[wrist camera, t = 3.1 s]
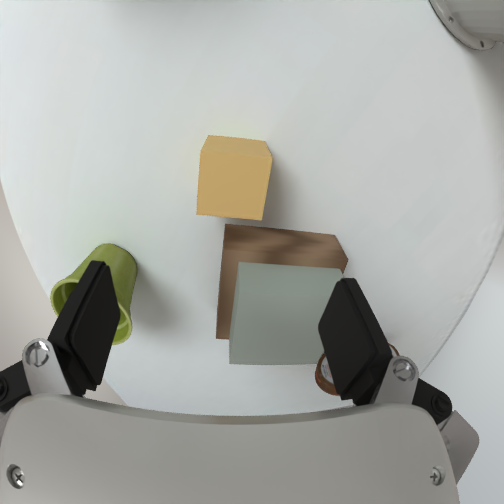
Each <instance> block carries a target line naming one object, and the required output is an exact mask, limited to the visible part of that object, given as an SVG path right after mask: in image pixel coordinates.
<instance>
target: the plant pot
mask: <svg viewBox="0 0 504 504" xmlns="http://www.w3.org/2000/svg"><path fill="white" fill-rule="evenodd" d="M92 260H96V261H104V262H105V263H106V265H109V267H110V270H111V275H112V280H113V284H114V289H115V293H116V297H117V301H118V305H119V309H120V321H119V324H118V327H117V330H116V333H115V336H114V340H113V343H112V345H116V344H120V343H123V342H124V341H126V340H127V339H128V338H129V337H130V335H131V332H132V321H131V318H130V317H131V314H130V304H131V299H132V293H133V288H134V284H135V279H136V274H137V267H136V263H135V261H134V259H133V257H132V256H131V255H130V254H129V253H128V252H127V251H126V250H124V249H121V248H119V247H117V246H115V245H114V244H102V245H100V246H98V247H97V248H96V249H95V250H94V251H93V252H92V253H91V254H90V255H89V256H88V257H87V258H86V259H85V260H84V261H83V262H82V264H81V265H80V266H79V267H78V268H77V269H76V270H75V271H74V272H73V273H72V274H71V275H69V276H68V277H66V278H65V279H63V280H61V281H59V282H58V283H56V284H55V286H54V287H53V288H52V291H51V296H50V300H51V305H52V307H53V310H54V312H55V314H56V315H57V317H58V316H59V314H60V312H61V310H62V308H63V306H64V304H65V302H66V301H67V299H68V297H69V295H70V293H71V292H72V291H73V290H74V289H75V287H76V285H77V284H78V282H79V280H80V278H81V277H82V275H83V273H84V271H85V270H86V268H87V266H88V265H89V263H90V262H91V261H92Z"/></svg>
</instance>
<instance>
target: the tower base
mask: <svg viewBox="0 0 504 504" xmlns="http://www.w3.org/2000/svg"><path fill="white" fill-rule="evenodd" d="M239 262H248V263H262V264H276V265H291V266H306V267H321V268H337V269H340V270H341V272H342V274H343V272H344V270H345V267H346V265H347V262H348V258H347V256H346V254H345V253H344V251H343V249H342V247H341V245H340V243H339V242H338V240H337V238H336V236H335V235H330V234H321V233H313V232H303V231H294V230H284V229H275V228H265V227H254V226H244V225H233V224H225V231H224V241H223V251H222V262H221V272H220V284H219V295H218V307H217V327H216V339H229V335H230V326H231V318H232V310H233V302H234V294H235V286H236V279H237V271H238V263H239Z"/></svg>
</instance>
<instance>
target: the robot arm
mask: <svg viewBox="0 0 504 504" xmlns="http://www.w3.org/2000/svg"><path fill="white" fill-rule="evenodd" d="M430 2H431V4H432V6H433V8H434V9H435V11H436V13H437V14H438V16H439V17H440V19H441V20H442V22H443V23H444V24H445V26H446V27H447V28H448V29H449V30H450V32H451V33H452V34H453V35H454V36H455V37H456V38H458V39H459V40H460V41H461V42H462V43H464V44H465V45H467V46H468V47H471V48H473V49H478V50H488V49H491V48H492V47H493V46H494V45H495V44H496V42H497V41H500V42H503V43H504V0H430ZM119 321H120V309H119V305H118V301H117V297H116V293H115V289H114V284H113V280H112V275H111V270H110V267H109V265H106V263H105V262H104V261H96V260H92V261H91V262H90V263H89V265H88V266H87V268H86V270H85V271H84V273H83V275H82V277H81V278H80V280H79V282H78V284H77V285H76V287H75V289H74V290H73V291H72V292H71V293H70V295H69V297H68V299H67V301H66V302H65V304H64V306H63V308H62V310H61V312H60V314H59V316H58V318H57V320H56V322H55V324H54V326H53V328H52V330H51V333H50V335H49V337H48V339H47V340H45V339H40V338H39V339H35V340H32V341H31V342H29V343H28V344H27V345H26V346H25V348H24V350H23V353H22V360H21V361H19V362H18V363H16V364H14V365H12V366H10V367H8V368H6V369H5V370H3V371H1V372H0V504H460V501H459V496H458V491H457V487H456V485H457V483H458V481H459V480H460V478H461V477H462V475H463V473H464V472H465V470H466V468H467V466H468V465H469V463H470V461H471V459H472V457H473V456H474V454H475V452H476V450H477V448H478V445H479V436H478V434H477V432H476V431H475V430H474V429H473V428H472V427H471V426H470V425H469V424H468V423H467V421H466V420H465V419H464V418H463V417H462V416H461V415H460V414H459V413H458V412H457V411H456V410H454V411H452V403H451V400H450V398H449V397H448V396H447V395H446V394H445V393H444V392H442V391H440V390H438V389H437V388H435V387H433V386H431V385H430V384H428V383H426V382H425V381H423V380H421V379H420V378H418V375H419V372H418V368H417V366H416V365H415V363H414V362H413V361H412V360H411V359H409V358H408V357H405V356H395V357H393V355H392V351H391V348H390V346H389V344H388V342H387V340H386V338H385V336H384V334H383V332H382V329H381V327H380V325H379V323H378V321H377V319H376V317H375V315H374V313H373V311H372V309H371V307H370V305H369V303H368V302H367V300H366V298H365V296H364V294H363V292H362V290H361V288H360V286H359V284H358V283H357V281H356V279H354V278H341V279H340V281H337V282H336V284H335V287H334V289H333V291H332V294H331V296H330V298H329V301H328V303H327V305H326V308H325V310H324V312H323V314H322V317H321V319H320V321H319V324H318V332H319V335H320V338H321V342H322V345H323V348H324V352H325V355H326V358H327V362H328V365H329V369H330V372H331V376H332V379H333V383H334V386H335V390H336V393H337V394H338V395H339V394H340V397H341V400H348V399H352V400H353V403H354V404H353V406H352V407H350V408H343V409H335V410H327V411H319V412H310V413H299V414H286V415H267V416H214V415H195V414H182V413H172V412H163V411H155V410H147V409H141V408H134V407H129V406H123V405H117V404H112V403H107V402H102V401H97V400H92V399H88V398H85V396H84V394H85V392H86V389H88V390H93V391H96V388H97V385H100V384H101V381H102V378H103V374H104V370H105V367H106V363H107V360H108V356H109V353H110V349H111V346H112V343H113V340H114V336H115V333H116V330H117V327H118V324H119Z"/></svg>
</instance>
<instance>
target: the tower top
mask: <svg viewBox="0 0 504 504" xmlns="http://www.w3.org/2000/svg"><path fill="white" fill-rule="evenodd" d="M341 278H344V276H343V274H342V272H341V270H340V269H337V268H321V267H306V266H291V265H276V264H262V263H248V262H239V263H238V271H237V279H236V286H235V294H234V302H233V310H232V318H231V326H230V335H229V359H230V364H246V365H295V364H317V362H318V360H319V359H320V357H321V355H322V354H323V352H324V348H323V345H322V342H321V338H320V335H319V332H318V324H319V321H320V319H321V317H322V314H323V312H324V310H325V308H326V305H327V303H328V301H329V298H330V296H331V294H332V291H333V289H334V287H335V284H336V282H337V281H340V279H341Z"/></svg>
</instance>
